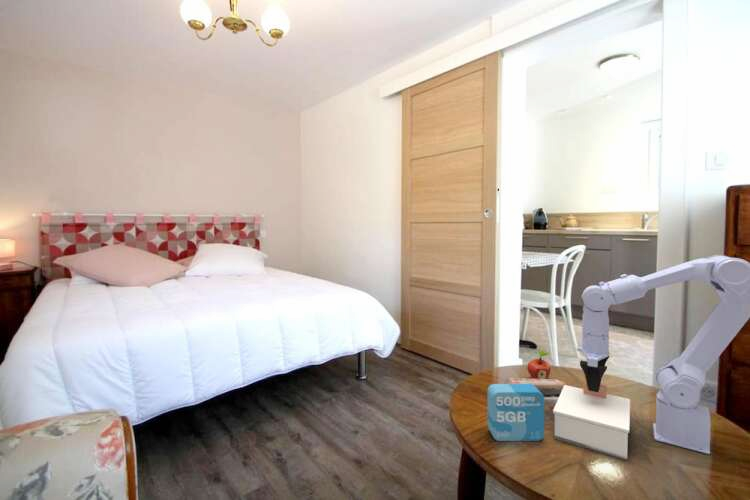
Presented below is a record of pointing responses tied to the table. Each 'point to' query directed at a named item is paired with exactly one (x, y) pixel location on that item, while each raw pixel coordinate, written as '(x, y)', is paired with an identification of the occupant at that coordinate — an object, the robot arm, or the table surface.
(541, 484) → the table surface
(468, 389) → the table surface
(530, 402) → the data package
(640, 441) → the table surface
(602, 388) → the carton lid
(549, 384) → the packaged product
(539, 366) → the apple
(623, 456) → the carton
